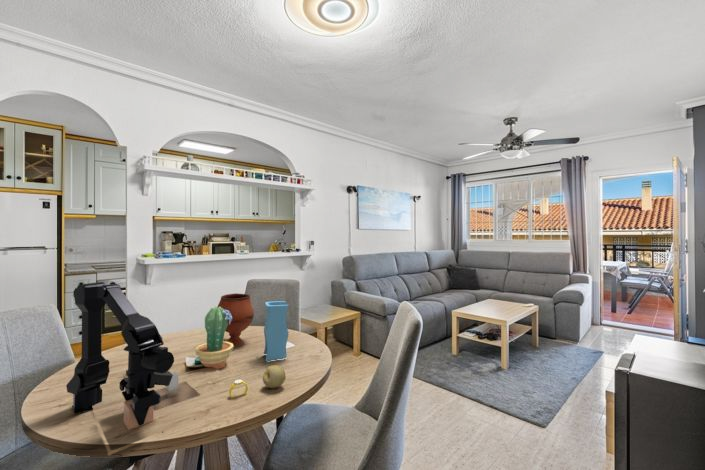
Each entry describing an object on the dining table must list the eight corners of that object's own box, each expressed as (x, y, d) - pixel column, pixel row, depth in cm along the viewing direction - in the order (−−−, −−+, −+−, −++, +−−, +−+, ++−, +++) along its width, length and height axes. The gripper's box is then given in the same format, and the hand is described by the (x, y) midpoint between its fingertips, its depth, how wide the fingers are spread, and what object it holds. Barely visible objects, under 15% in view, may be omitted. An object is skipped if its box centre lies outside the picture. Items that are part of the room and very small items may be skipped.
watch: (230, 403, 106) (229, 385, 106) (228, 399, 109) (227, 382, 109) (248, 397, 110) (247, 380, 110) (246, 393, 112) (245, 377, 112)
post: (168, 397, 106) (168, 376, 106) (165, 394, 108) (165, 374, 108) (177, 394, 108) (178, 374, 109) (174, 391, 110) (175, 371, 111)
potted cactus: (215, 375, 126) (217, 312, 127) (185, 369, 131) (187, 309, 132) (240, 361, 141) (242, 305, 141) (213, 356, 146) (214, 302, 146)
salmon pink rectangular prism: (128, 433, 89) (129, 409, 89) (123, 424, 93) (124, 401, 93) (152, 424, 93) (153, 401, 93) (147, 416, 97) (147, 394, 97)
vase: (287, 360, 144) (289, 305, 144) (265, 362, 140) (267, 306, 141) (284, 352, 153) (285, 300, 153) (263, 354, 150) (264, 301, 150)
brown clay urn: (227, 337, 175) (228, 291, 175) (260, 339, 171) (261, 293, 172) (205, 348, 156) (207, 298, 156) (241, 352, 153) (243, 300, 153)
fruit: (261, 384, 119) (262, 363, 120) (283, 381, 122) (284, 360, 122) (263, 394, 112) (263, 371, 112) (286, 390, 115) (287, 368, 115)
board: (154, 413, 98) (154, 410, 98) (141, 397, 108) (142, 394, 108) (200, 397, 109) (200, 394, 109) (185, 384, 118) (185, 381, 118)
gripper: (180, 368, 92) (179, 422, 92) (160, 351, 105) (159, 398, 105) (135, 380, 84) (134, 439, 84) (119, 360, 97) (118, 411, 97)
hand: (138, 420), depth 93 cm, fingers closed on salmon pink rectangular prism, 6 cm apart
